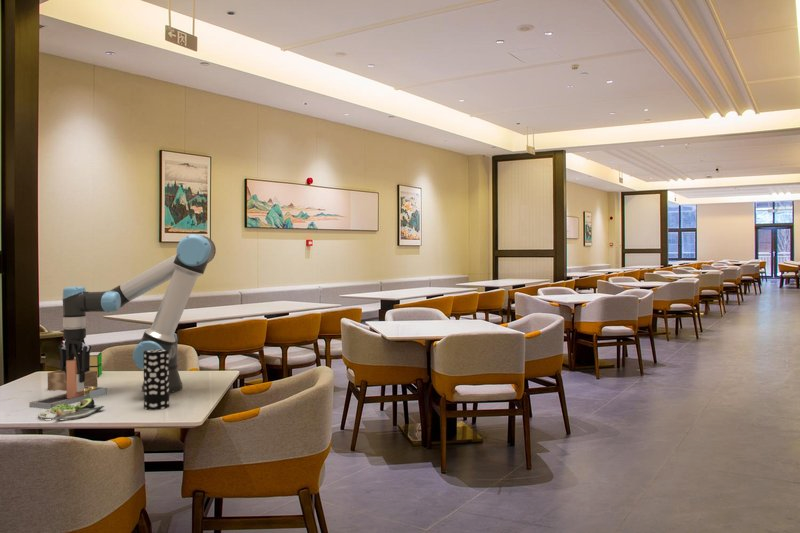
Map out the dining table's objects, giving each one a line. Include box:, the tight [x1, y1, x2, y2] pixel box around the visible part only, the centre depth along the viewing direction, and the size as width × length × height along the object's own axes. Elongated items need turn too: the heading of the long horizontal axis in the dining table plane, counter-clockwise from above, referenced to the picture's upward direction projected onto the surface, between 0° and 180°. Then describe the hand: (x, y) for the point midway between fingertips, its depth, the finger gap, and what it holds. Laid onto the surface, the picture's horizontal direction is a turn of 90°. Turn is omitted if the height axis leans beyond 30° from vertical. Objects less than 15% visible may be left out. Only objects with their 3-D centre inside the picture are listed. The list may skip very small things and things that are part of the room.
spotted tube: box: [143, 349, 170, 411], centre depth 221 cm, size 8×8×20 cm
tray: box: [84, 386, 108, 399], centre depth 239 cm, size 10×8×3 cm
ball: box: [88, 386, 96, 394], centre depth 241 cm, size 3×3×3 cm
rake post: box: [66, 359, 84, 398], centre depth 233 cm, size 4×4×14 cm
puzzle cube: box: [74, 351, 103, 378], centre depth 281 cm, size 10×10×10 cm
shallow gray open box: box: [28, 392, 90, 410], centre depth 227 cm, size 10×17×2 cm, turn 160°
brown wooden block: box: [47, 369, 98, 392], centre depth 253 cm, size 16×9×7 cm, turn 70°
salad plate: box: [37, 398, 105, 420], centre depth 211 cm, size 19×18×5 cm
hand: (75, 390), depth 233 cm, fingers closed on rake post, 4 cm apart
